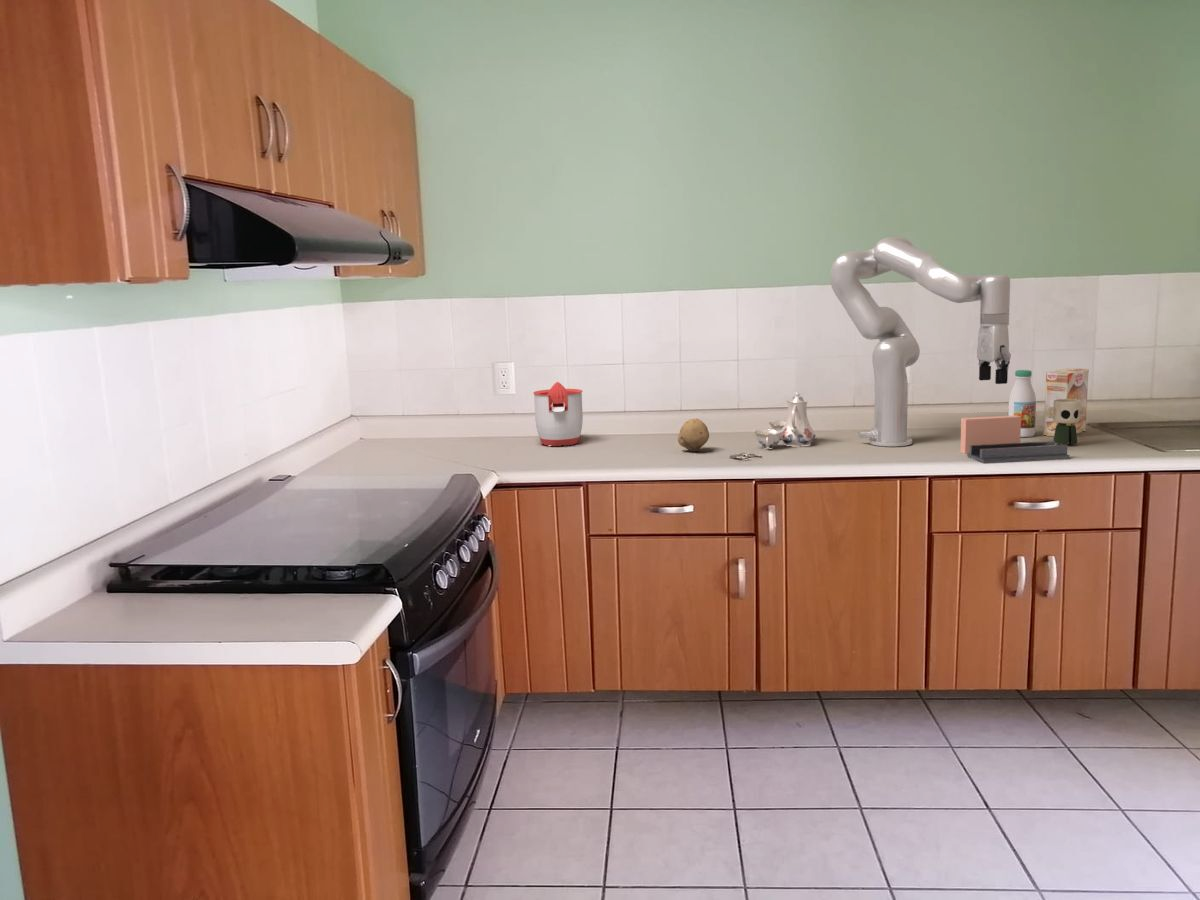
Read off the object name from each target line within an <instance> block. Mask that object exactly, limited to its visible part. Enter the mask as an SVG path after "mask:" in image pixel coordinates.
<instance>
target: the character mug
mask: <svg viewBox="0 0 1200 900" xmlns="http://www.w3.org/2000/svg"><path fill="white" fill-rule="evenodd" d="M1080 404H1081V402H1080V400H1076V399H1056V400H1054V402H1053V407H1048V418H1053V421H1054V422H1057V423H1058V424H1057V426H1056V429H1055V434H1054V436H1053V440H1052V441H1055V444H1056V445H1059V444H1061V445H1069V444H1071V445H1077V444H1078V435H1077V433H1076V427H1075V425H1074V423H1077V422H1079V420H1080V417H1085V412H1086V413H1087V409H1086V407H1085V406H1080ZM1080 409H1082V414H1080ZM1051 410H1053V415H1051Z"/></svg>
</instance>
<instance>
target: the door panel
mask: <svg viewBox="0 0 1200 900" xmlns="http://www.w3.org/2000/svg"><path fill="white" fill-rule="evenodd" d="M960 420H961V421H960V449H959V450H960V452H962V453H964V454H963V455H965V454H967V453H969V451H970V445H983V444H1002V443H1021V437H1020V434H1021V417H1020V416H1008V415H1001V416H999V415H997V416H977V417H976V416H975V417H961V419H960ZM962 453H961V454H962Z"/></svg>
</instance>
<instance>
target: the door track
mask: <svg viewBox="0 0 1200 900" xmlns="http://www.w3.org/2000/svg"><path fill="white" fill-rule="evenodd" d="M966 456H968V457H967V458H969V457H971V458H973V459H972V460H974V459H975V461H976V460H977V461H976V462H979V463H982V464H1000V463H1015V462H1018V463H1019V462H1020V463H1021V462H1034V461H1035V462H1037V461H1039V462H1040V461H1052V460H1054V461H1055V459H1058V460H1068V459H1067V458H1070V457H1071V456H1070V455H1069V454H1068V445H1062V444H1061V445H1059V444H1056V443H1055V441H1053V440H1046V441H1045V440H1043V441H1027V442H1024V441H1023V442H1020V443H1002V444H983V445H970V451H969V453H967V455H966ZM971 458H970V459H971Z"/></svg>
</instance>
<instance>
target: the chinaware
mask: <svg viewBox="0 0 1200 900" xmlns="http://www.w3.org/2000/svg"><path fill="white" fill-rule="evenodd" d="M808 402H809V400H806V399H804V398H803V396H801V394H800V393H799V392H798V391H797V392H795V394H794V396H792V397H791V399H788V400H786V404H787V417H786V420H785V421H783V420H775V421H773V422H772V421H770V422H768V424H769V425H770V427H771V428H768V429H765V430H761V429H757V430H755V431H754V435H755V436H756V438H757V442H758V443H759V444H760V445H761V446H762V447H763V448H767V449H766V450H770V449H769V448H772V447H773V448H775V447H776V446H777V445H778V444H779V442H780V439H781V441H782V442H783V444H786V445H794V446H802V445H809V444H811V445H812V442H813V441H814V440H815V438H816V433H815V431H814V429H813V428H812V426H811V424H810V422H809V419H808V416H807V406H808Z"/></svg>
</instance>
